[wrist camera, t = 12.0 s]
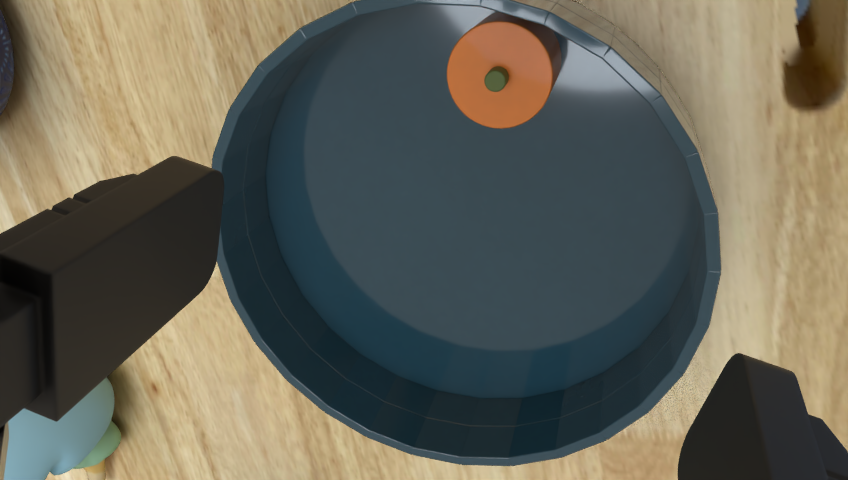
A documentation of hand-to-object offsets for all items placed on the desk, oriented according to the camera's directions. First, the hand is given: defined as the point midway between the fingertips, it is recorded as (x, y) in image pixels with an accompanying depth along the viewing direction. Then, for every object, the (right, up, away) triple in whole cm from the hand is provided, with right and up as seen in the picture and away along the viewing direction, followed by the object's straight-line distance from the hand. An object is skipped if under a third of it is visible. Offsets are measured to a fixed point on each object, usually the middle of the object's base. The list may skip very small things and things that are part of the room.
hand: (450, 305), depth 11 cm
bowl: (+2, +2, +22) cm, 23 cm away
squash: (+3, +8, +18) cm, 20 cm away
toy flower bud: (-22, -10, +36) cm, 43 cm away
